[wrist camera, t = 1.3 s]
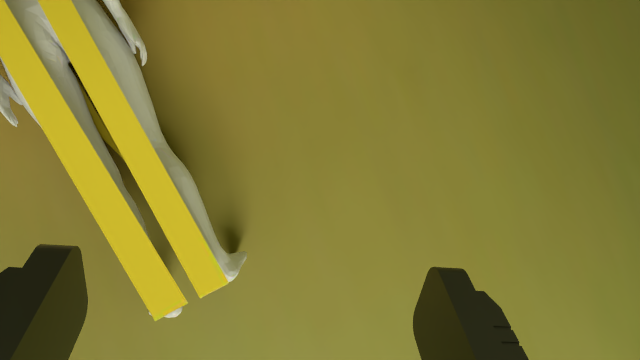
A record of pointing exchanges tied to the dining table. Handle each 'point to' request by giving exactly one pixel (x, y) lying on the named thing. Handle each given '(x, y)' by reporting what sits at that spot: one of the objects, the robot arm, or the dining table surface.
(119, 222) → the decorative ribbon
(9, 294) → the robot arm
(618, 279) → the dining table surface
